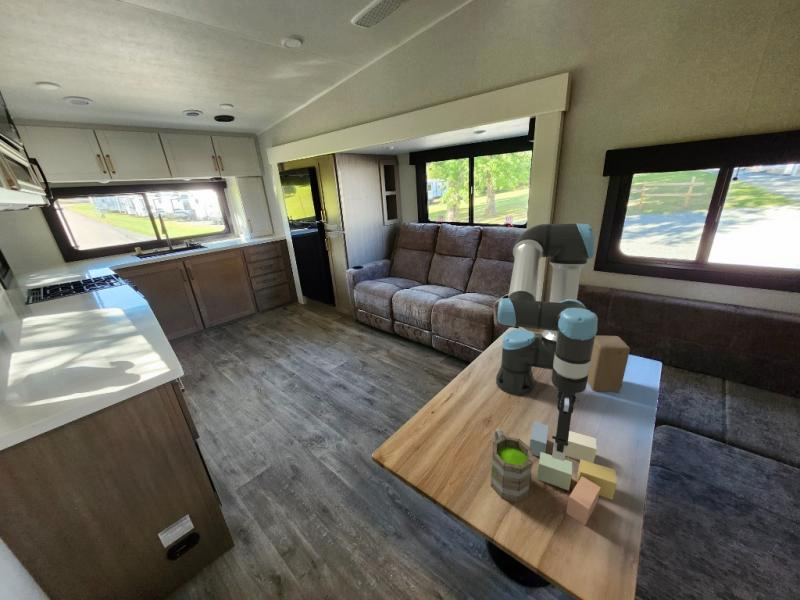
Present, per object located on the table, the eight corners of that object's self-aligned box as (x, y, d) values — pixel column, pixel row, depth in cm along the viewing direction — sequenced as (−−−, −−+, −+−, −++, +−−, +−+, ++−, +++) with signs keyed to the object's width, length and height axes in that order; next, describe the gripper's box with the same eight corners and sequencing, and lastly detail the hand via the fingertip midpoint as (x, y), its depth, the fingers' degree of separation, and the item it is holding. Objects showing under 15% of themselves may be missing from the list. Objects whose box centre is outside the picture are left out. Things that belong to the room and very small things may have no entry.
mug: (537, 499, 81) (542, 466, 77) (497, 504, 80) (500, 471, 76) (512, 451, 96) (515, 421, 91) (478, 455, 95) (479, 425, 91)
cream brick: (562, 454, 93) (565, 440, 91) (563, 444, 97) (565, 429, 95) (593, 464, 90) (596, 449, 87) (592, 453, 93) (595, 438, 91)
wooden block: (621, 393, 117) (631, 348, 110) (592, 391, 119) (600, 346, 112) (609, 378, 126) (619, 335, 119) (583, 376, 128) (590, 334, 121)
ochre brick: (577, 487, 83) (580, 471, 81) (577, 474, 87) (580, 459, 85) (612, 500, 80) (616, 483, 78) (611, 486, 83) (615, 470, 81)
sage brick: (536, 479, 86) (539, 463, 84) (538, 467, 90) (540, 451, 88) (568, 490, 83) (571, 474, 81) (569, 477, 86) (572, 462, 84)
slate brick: (544, 458, 93) (546, 443, 90) (528, 453, 95) (530, 438, 92) (546, 439, 99) (548, 425, 97) (532, 435, 101) (533, 421, 99)
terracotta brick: (585, 525, 74) (588, 509, 72) (566, 512, 77) (569, 496, 75) (596, 503, 79) (600, 487, 77) (578, 492, 82) (581, 476, 80)
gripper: (589, 407, 62) (575, 483, 69) (587, 349, 82) (576, 413, 89) (548, 397, 65) (539, 470, 73) (556, 344, 85) (548, 405, 93)
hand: (559, 438), depth 81 cm, fingers open, 13 cm apart
